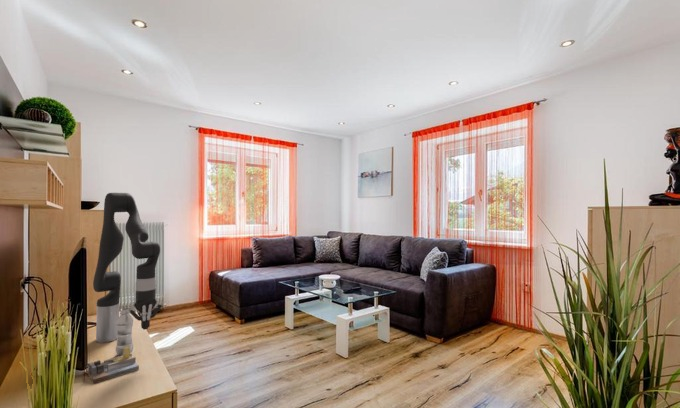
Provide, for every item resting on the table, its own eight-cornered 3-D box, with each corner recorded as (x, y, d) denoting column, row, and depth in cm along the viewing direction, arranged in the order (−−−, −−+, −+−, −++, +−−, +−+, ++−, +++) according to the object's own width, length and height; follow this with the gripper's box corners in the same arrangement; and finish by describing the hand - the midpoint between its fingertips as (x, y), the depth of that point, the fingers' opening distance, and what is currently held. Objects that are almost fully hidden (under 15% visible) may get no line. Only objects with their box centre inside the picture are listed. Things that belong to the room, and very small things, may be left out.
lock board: (84, 371, 134) (84, 360, 134) (127, 358, 145) (127, 348, 145) (93, 383, 125) (94, 371, 125) (138, 369, 136) (139, 358, 136)
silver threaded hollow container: (124, 358, 146) (125, 311, 146) (111, 356, 147) (112, 310, 148) (136, 352, 152) (137, 307, 153) (124, 350, 154) (124, 306, 154)
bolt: (112, 364, 136) (112, 349, 136) (129, 359, 141) (129, 345, 141) (114, 367, 134) (114, 351, 134) (131, 362, 139) (131, 347, 139)
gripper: (158, 284, 152) (158, 323, 151) (125, 289, 142) (124, 331, 141) (165, 287, 147) (165, 327, 146) (131, 292, 137) (130, 335, 137)
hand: (145, 328), depth 144 cm, fingers closed
